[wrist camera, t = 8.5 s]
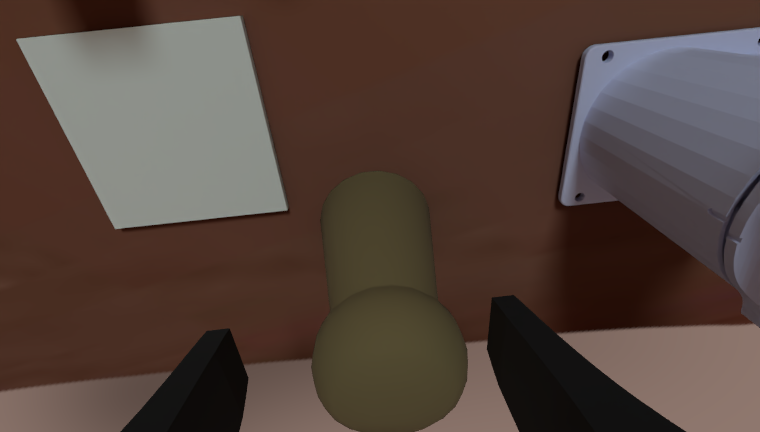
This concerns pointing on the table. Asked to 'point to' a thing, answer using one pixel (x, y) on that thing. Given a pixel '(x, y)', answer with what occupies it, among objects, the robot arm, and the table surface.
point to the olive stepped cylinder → (384, 311)
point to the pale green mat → (164, 119)
